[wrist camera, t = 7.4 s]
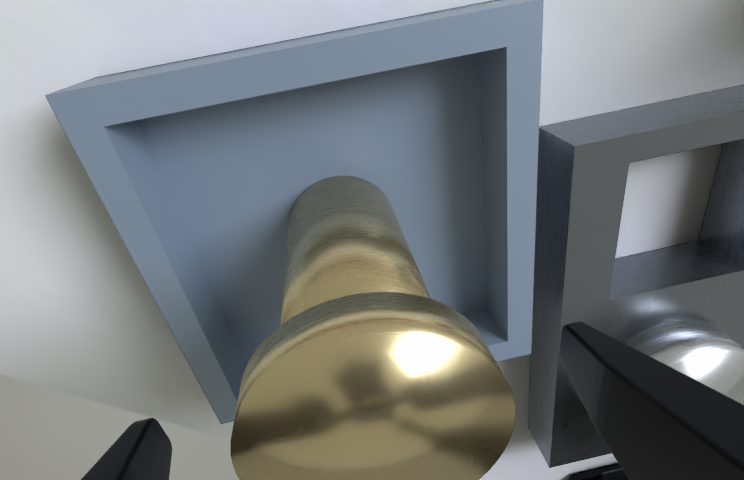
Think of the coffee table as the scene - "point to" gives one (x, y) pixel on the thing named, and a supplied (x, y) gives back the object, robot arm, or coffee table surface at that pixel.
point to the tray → (323, 169)
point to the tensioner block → (634, 260)
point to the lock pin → (365, 360)
